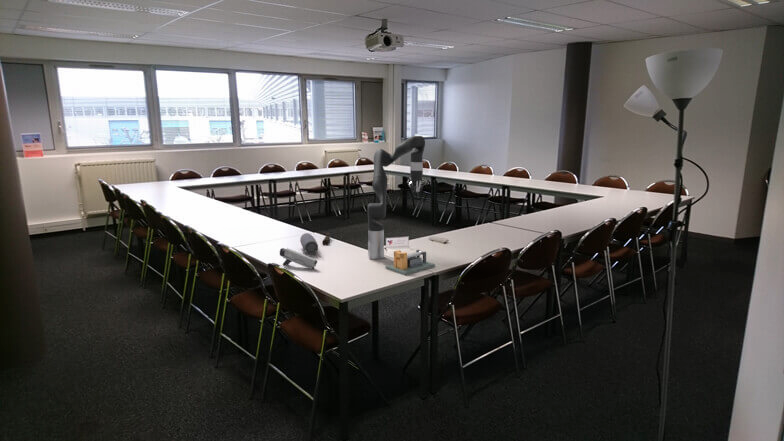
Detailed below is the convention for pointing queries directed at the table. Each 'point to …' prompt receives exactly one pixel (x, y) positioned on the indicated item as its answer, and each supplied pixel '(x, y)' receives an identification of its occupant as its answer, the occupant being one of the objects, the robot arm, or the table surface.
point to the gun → (297, 258)
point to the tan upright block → (400, 260)
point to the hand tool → (326, 239)
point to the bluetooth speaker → (309, 243)
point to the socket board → (414, 269)
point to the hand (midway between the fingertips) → (416, 197)
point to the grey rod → (414, 254)
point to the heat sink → (414, 262)
